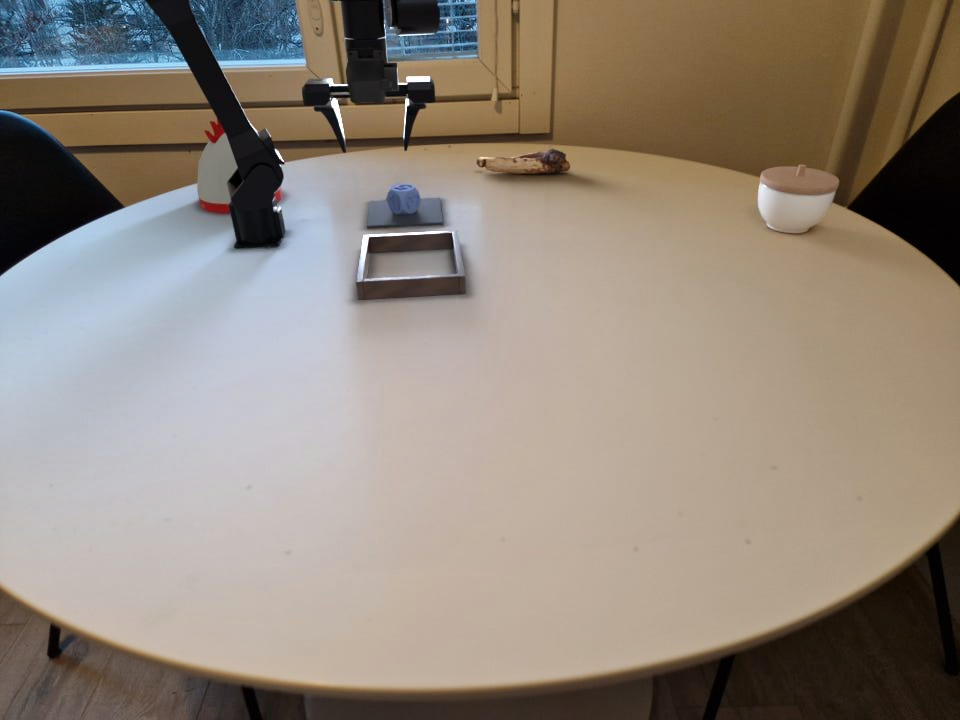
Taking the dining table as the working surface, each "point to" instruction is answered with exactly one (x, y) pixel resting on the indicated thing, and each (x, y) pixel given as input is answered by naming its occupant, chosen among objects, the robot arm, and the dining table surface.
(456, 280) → the rectangular frame
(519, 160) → the overripe banana
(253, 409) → the dining table surface
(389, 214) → the mat
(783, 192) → the trinket box
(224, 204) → the kitchen timer
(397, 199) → the decorative dice
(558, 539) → the dining table surface
